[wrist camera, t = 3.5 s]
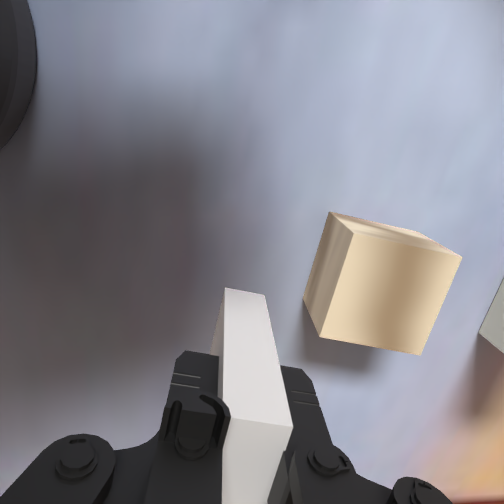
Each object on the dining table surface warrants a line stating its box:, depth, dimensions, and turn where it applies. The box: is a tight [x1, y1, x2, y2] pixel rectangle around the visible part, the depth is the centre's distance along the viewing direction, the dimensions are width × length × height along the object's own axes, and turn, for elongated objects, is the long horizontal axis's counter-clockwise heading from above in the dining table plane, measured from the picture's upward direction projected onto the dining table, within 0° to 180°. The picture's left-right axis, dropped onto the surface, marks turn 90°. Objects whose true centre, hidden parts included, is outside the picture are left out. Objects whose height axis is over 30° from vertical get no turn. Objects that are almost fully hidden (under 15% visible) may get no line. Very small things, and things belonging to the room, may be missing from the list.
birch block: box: [303, 212, 462, 355], centre depth 23 cm, size 6×6×5 cm
